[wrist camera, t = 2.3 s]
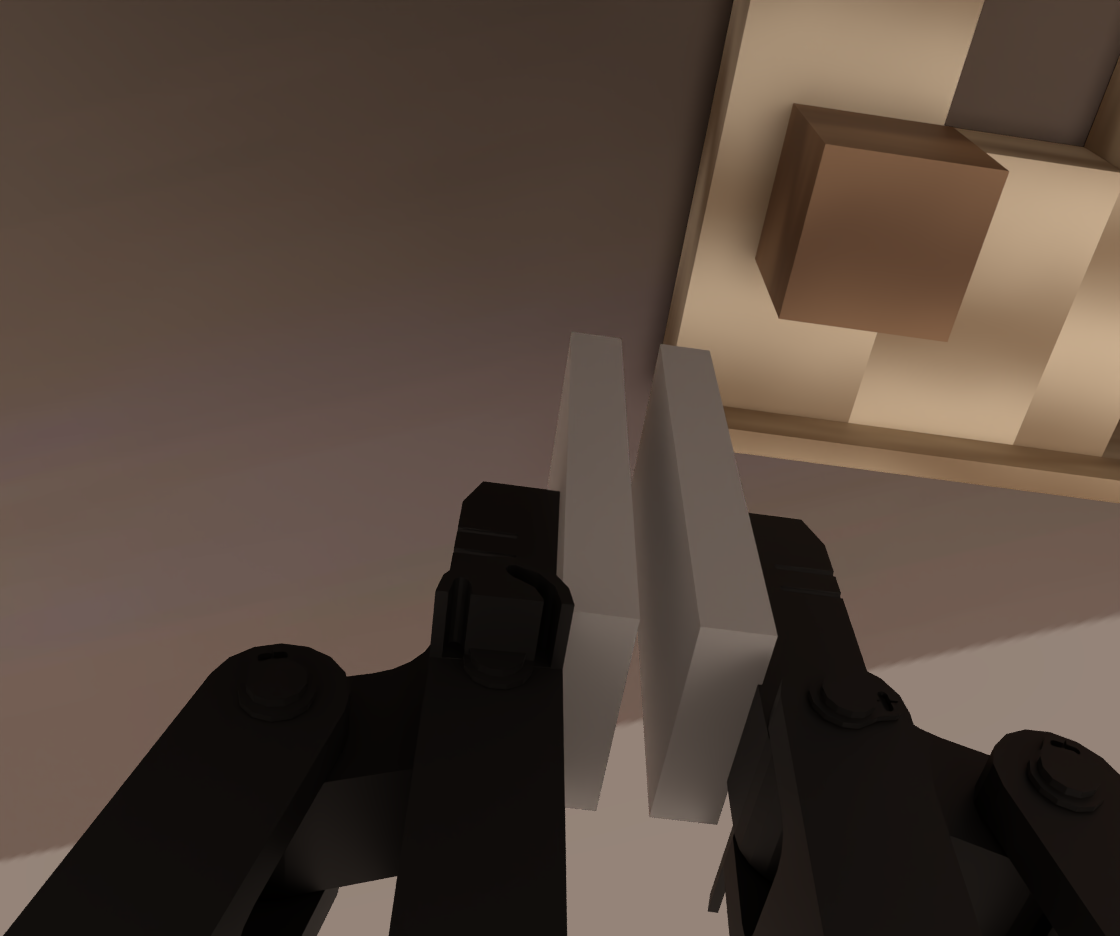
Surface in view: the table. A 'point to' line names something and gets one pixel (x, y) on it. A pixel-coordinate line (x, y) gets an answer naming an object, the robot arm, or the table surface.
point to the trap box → (990, 299)
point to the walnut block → (875, 222)
